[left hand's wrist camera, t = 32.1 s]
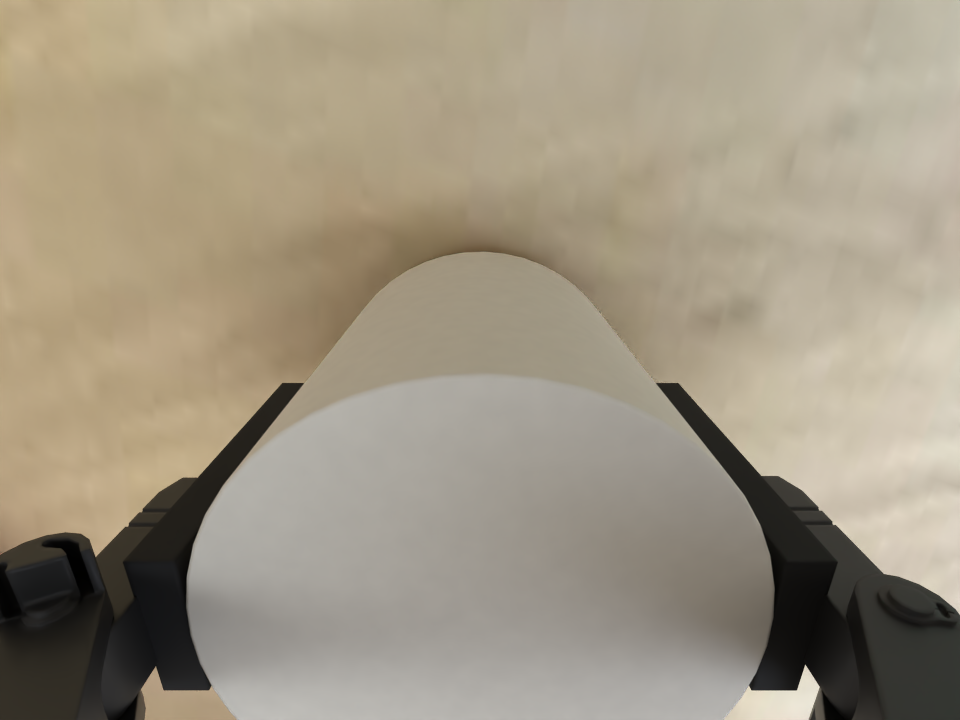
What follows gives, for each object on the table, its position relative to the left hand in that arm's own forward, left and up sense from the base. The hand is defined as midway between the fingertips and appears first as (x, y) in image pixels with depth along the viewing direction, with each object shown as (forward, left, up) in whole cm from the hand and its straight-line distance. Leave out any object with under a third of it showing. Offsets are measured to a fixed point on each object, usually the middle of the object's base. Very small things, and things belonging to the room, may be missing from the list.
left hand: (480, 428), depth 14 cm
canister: (0, 0, -3) cm, 3 cm away
